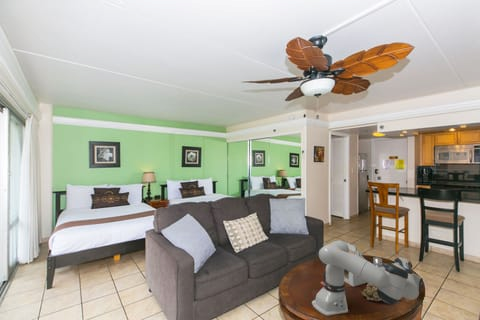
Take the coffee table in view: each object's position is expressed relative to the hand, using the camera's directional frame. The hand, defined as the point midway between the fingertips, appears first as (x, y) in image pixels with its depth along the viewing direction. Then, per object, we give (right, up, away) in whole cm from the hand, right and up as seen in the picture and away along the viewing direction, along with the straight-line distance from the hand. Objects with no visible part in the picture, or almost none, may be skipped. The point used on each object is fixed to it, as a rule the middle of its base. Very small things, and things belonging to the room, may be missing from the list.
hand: (378, 265), depth 175 cm
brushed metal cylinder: (0, -7, 0) cm, 7 cm away
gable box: (-26, -10, -1) cm, 27 cm away
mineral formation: (-21, -9, -29) cm, 37 cm away
